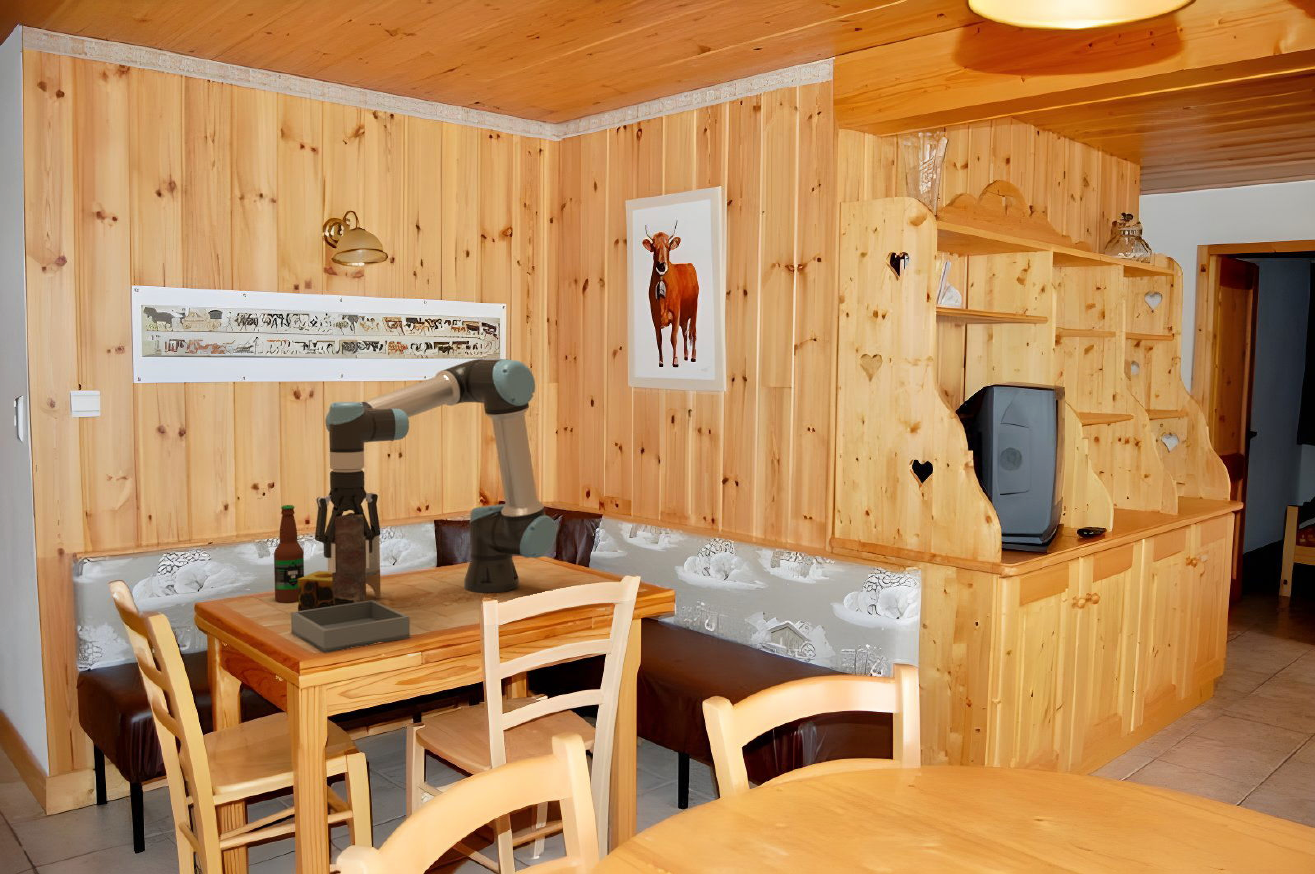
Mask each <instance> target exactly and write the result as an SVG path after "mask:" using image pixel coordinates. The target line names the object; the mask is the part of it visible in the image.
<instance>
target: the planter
mask: <svg viewBox="0 0 1315 874" xmlns="http://www.w3.org/2000/svg"><path fill="white" fill-rule="evenodd" d="M380 535H381V534H380ZM380 535H379V536H376V537H375V538H374V539H373V540H372V549H373V551H372V553H369V568H365V575H366V585H368V586H369V587H370V588H371V589H372V590H373V592H374V595H375V596H374V598H375V599H381V597H382V596H381V552H380V551H381V550H380V549H381V548H380V547H381V546H380V545H381V543H380V537H381V536H380ZM364 539H365V537H364ZM356 602H360V601H354V603H356Z"/></svg>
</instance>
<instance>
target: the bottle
mask: <svg viewBox="0 0 1315 874" xmlns="http://www.w3.org/2000/svg"><path fill="white" fill-rule="evenodd" d="M280 509H281V513H280V514H281V515H282V516H281V521H280V524H279V525H280V526H279V542H278V545H277V547H276V548H275V549H274V553H273V565H274V568H273V569H274V573H273V574H274V599H275V601H276V602H277V603H283V604H290V603H299V594H298V592H299V585H298V579H299V578H302V577H304V576H305V561H304V559H305V556H304V555H305V554H304V549H303V548H302V546H301V544H300V543H299V541H298V529H297V528H298V527H297V524H296V523H297V522H296V517H295V516H294V514H295V513H296V512H295V510H294V509H295V505H293V504H285V505H282V506H281V507H280Z"/></svg>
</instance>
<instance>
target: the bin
mask: <svg viewBox="0 0 1315 874" xmlns="http://www.w3.org/2000/svg"><path fill="white" fill-rule="evenodd" d="M410 622H411V621H410V616H408V615H407V614H404V613H403V612H400V611H398V610H396V609H394V608H391V607H389V606H387V605H386V604H385V605H384V604H383V603H380V602H378V601H377V600H375V599H372V600H371V599H370V600H365V601H364V600H363V601H359V602H356V603H350V604H343V605H337V606H330V607H324V608H317V609H311V610H304V611H298V610H297V611H292V612H290V628H291V630H290V631H291V634H293V635H294V636H296V637H298V638H299V639H300V640H303V641H304V642H306V643H308V644H309V645H311V646H312V647H314V648H316V649H317V650H318V651H320V652H322V653H324V654H325V653H332V652H337V650H338V651H343V650H342V649H344V650H348V649H347V648H350V649H352V648H351V647H356V646H362V647H366V646H365V645H368V646H371V645H370V644H374V643H378V642H386V643H390V642H389V641H392V642H396V641H395V640H397V641H402V639H403V640H408V639H411V638H410V637H411V633H410ZM400 639H401V640H400ZM374 645H375V644H374ZM356 648H357V647H356ZM331 651H332V652H331Z"/></svg>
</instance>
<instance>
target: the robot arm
mask: <svg viewBox="0 0 1315 874" xmlns="http://www.w3.org/2000/svg"><path fill="white" fill-rule="evenodd" d="M535 382H536V381H535V377H534V374H533V373H532V370H531V369H530V368H529V366H527V365H526V364H525V363H524V362H521V361H519V360H515V359H514V360H513V359H509V358H505V359H503V358H502V359H501V358H499V359H498V358H497V359H496V358H495V359H491V358H490V359H489V358H487V359H483V358H477V359H472V360H468V361H466V362H463V363H460V364H456V365H454V366H451V367H448V368H446V369H443V370H440V371H438V372H436V374H435V376H433V377H431V378H428V379H425V380H422V381H419V382H416V383H413V384H411V385H408V386H405V387H401V388H399V389H396V390H393V391H390V392H388V393H384V394H381V395H378V396H375V397H373V398H370V399H367V400H363V401H360V402H359V401H335V402H332V403H331V404H330V405H329V408H328V409H329V410H328V412H327V414H326V416H325V427H326V430H327V432H328V435H329V438H328V439H329V440H328V441H329V468H330V469H331V471H330V472H329V486H330V490H329V493H328V495H325V496H322V497H320V496H318V497H316V504H317V516H316V524H315V532H314V540H315V541H317V542H320V543H322V544H323V557H324V558H326V559H327V571H329V572H332V573H335V572H336V560H335V544H334V543H332V540H333V537H334V535H335V517H337V516H342V515H344V513H345V512H348V511H352V513H355V514H358V515H362V514H363V517H364V537H365V539H364V547H365V568H369V553H372V551H373V549H372V540H373V539H374V538H375V537H376V536H379V535H381V529H380V528H381V527H380V526H381V525H380V520H379V514H378V506H377V505H378V504H377V503H378V498H379V496H378V494H377V493H373V492H367V491H366V489H365V471H364V470H363V469H364V468H365V443H373V442H374V443H377V442H394V441H399V440H403V439H404V438H405V437H406V436H407V435H408V433H409V430H410V421H409V418H411V417H414V416H417V415H419V414H422V413H424V412H427V411H431V410H433V409H435V408H438V407H440V406H441V407H442V406H444V405H446V406H450V407H451V406H455V405H458V404H463V403H480V404H483V408H484V414H485V415H486V416H487V417H489V418H490V419H491V422H492V426H493V428H492V429H493V435H494V440H495V447H496V452H497V453H496V454H497V458H498V466H499V470H500V478H501V484H502V491H503V496H504V502H505V503H504V504H503V503H502V504H492V505H491V504H490V505H483V506H479V507H478V506H477V507H474V508H473V509H472V510H471V511H470V513H469V514H470V516H469V517H470V518H469V520H470V521H469V544H470V545H469V546H470V547H469V549H470V550H469V551H470V553H469V554H470V561H469V564H468V566H467V570H466V574H465V577H464V589H465V590H466V591H469V592H475V593H483V594H484V593H485V594H489V593H490V594H491V593H493V594H494V593H495V594H496V593H504V592H511V591H513V590H517V589H518V588H519V587H520V579H519V576H518V571H517V569H516V566H515V563H514V559H513V555H514V556H519V557H523V558H526V559H528V558H529V559H530V558H533V559H539V558H542V557H543V556H545V555H546V554H548V553H549V551H551V549H552V548H553V545H554V543H555V541H556V537H557V524H556V522H555V521H554V519H552V517H551V516H549V515H546V512H545V505H544V503H543V502H542V501H540V500H539V499H538V496H537V489H536V482H535V476H534V469H533V462H532V456H531V449H530V443H529V436H528V429H527V422H526V417H525V416H526V415H525V414H526V412H528V410H529V408H530V403H529V402H531V400H532V399H533V397H534V393H535V391H536V383H535ZM364 501H366V502H367V503H366V504H367V511H368V519H369V523H368V520H367V517H366V515H365V511H364V508H363V505H362V503H363V502H364ZM330 502H331V503H332V505H333V507H332V509H331V516H330V518H329V521H328V524H327V516H328V506H329V504H330ZM332 517H334V519H333V520H332V519H331V518H332ZM326 524H327V527H326ZM487 592H488V593H487Z"/></svg>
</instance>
